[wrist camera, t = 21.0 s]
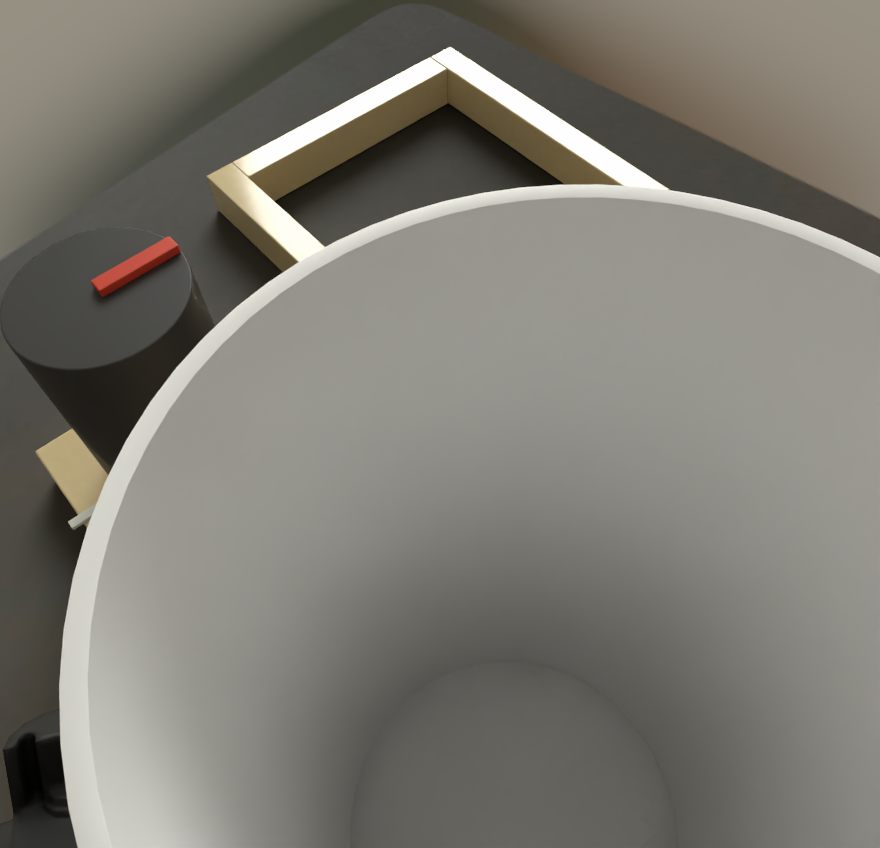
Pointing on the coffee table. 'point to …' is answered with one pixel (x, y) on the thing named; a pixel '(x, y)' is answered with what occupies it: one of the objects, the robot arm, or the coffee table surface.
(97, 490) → the panel
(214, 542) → the cup
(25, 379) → the coffee table surface
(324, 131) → the square frame
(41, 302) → the burner knob
